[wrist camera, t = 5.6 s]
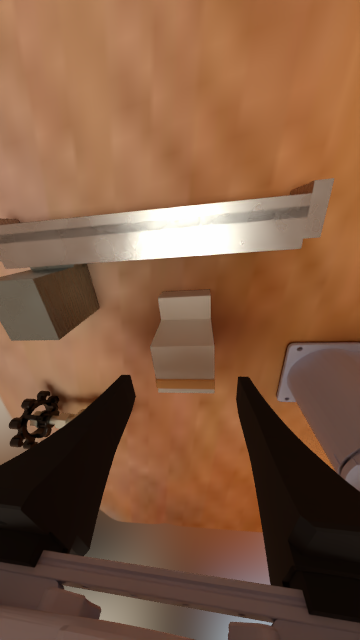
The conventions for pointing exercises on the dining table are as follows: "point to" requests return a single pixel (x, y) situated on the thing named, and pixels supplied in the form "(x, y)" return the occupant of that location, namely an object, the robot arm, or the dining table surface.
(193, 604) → the robot arm
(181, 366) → the block
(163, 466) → the dining table surface
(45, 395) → the valve
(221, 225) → the rail
